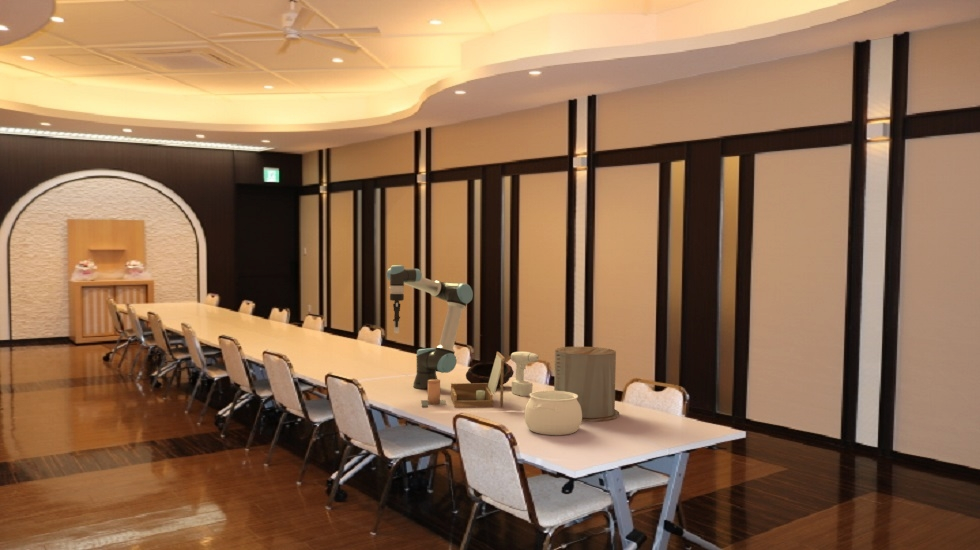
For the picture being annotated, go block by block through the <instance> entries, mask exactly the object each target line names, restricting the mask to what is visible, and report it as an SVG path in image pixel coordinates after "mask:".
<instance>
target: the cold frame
mask: <svg viewBox="0 0 980 550" xmlns="http://www.w3.org/2000/svg"><path fill="white" fill-rule="evenodd" d="M504 361H505V360H504V359H501V386H500V389H499V390H500V394H499V395H500V399H499V400H500V402H499V404H500V405H499V407H500V408H501V409H502V408H504V384H503V368H504V363H505V362H504ZM487 386H488V384H487V383H470V382H469V383H466V382H465V383H464V382H463V383H462V382H461V383H458V382H457V383H456V382H455V383H450V398H451V399H450V400H451V402H452V404H453V407H454V408H493V406H494V405H493V404H494V403H493V402H494V400H493V399H494V397H493V394H492V392H491V391H490V389H489V388H488V387H487ZM477 390H484V391H485V401H476V391H477Z"/></svg>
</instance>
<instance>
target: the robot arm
mask: <svg viewBox="0 0 980 550" xmlns="http://www.w3.org/2000/svg"><path fill="white" fill-rule="evenodd" d="M386 279H387V280H388V281H389V284H390V285H389V288H388V289H389V300H390V301H394V303H393V304H392V306H393V311H394V317H393V318H394V319H393V320H392V321H393V334H400V319H401V316H400V311H401V303H400V301H401V302H403V301H404V300H405V299H404V298H405V296H404V293H405V286H409V287H411V288H413V289H417V290H419V291H423V292H425V293H428V294H430V296H432V297H435V298H438V299H440V300H443V301H445V302H446V304H447V306H448V307H447V312H446V316H445V320H444V324H443V326H442V327H443V328H442V331H441V335H440V339H439V344H438V345H437V346H435V347H432V348H430V347H428V348H419V349H417V350H416V375H415V378H414V381H413V388H415V389H421V390H428V380H429V379H438V375H437V373H442V374H444V373H445V374H448V373H451V372H452V371H453V370H454V369H455V368H456V365H457V356H456V355H455V349H454V347H455V343H456V342H455V341H456V340H457V339H456V338H457V333H458V330H459V325H460V323H461V322H460V321H461V319H462V318H461V317H462V313H463V310H464V309H466V308H467V304H469V303H470V302H471V301H472V300H473V296H474V295H473V294H474V293H473V289H472V287H471V286H470V285H469V284H468V283H465V282H464V283H463V282H450V281H449V282H446V281H445V282H444V281H439V280H435V281H434V280H432V279H429V278H426V277H423V276H422V271H421V270H420V269H419V268H405V266H404V265H402V264H399V265H398V264H397V265H395V264H394V265H391V266H390V268H388V270H387V271H386Z"/></svg>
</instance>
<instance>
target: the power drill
mask: <svg viewBox="0 0 980 550" xmlns="http://www.w3.org/2000/svg"><path fill="white" fill-rule="evenodd" d="M510 359H511V361H512V362H513V363H515V364H516V366H515V380H511V393H512V394H514V395H517V396H519V395H520V397H530V396H529V395H530V393H532V392H533V385H534V384H533V382H530V381H528V380H525V370H526V366H527V365H529V364H530V363H533V362H535V363H536V362H537V361H538V360H539V359H540V357H539V355H538V354H537V353H533V352H530V351H514V352H512V353H511V354H510Z"/></svg>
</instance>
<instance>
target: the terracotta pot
mask: <svg viewBox="0 0 980 550" xmlns="http://www.w3.org/2000/svg"><path fill="white" fill-rule="evenodd" d="M427 400H428V403H429V404H438V403H440V400H441V379H439V378H437V379H429V380H428V389H427Z"/></svg>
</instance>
